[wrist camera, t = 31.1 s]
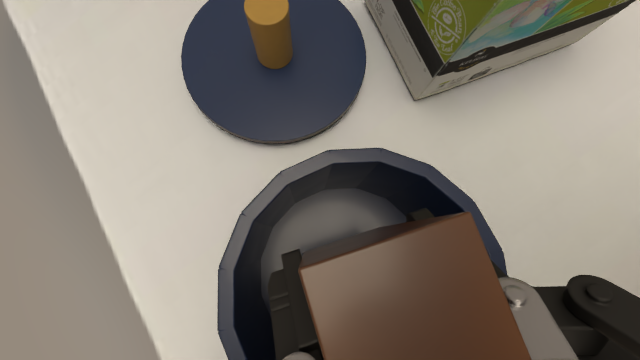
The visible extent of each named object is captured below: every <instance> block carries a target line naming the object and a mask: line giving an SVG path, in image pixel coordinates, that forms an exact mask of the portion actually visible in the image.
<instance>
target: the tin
mask: <svg viewBox="0 0 640 360" xmlns="http://www.w3.org/2000/svg"><path fill="white" fill-rule="evenodd" d="M423 208H427V209H428V210H429V211H430V212H431V213H432V214H433V215H434V217H439V216H445V215H451V214H457V213H462V212H470V213H471V214H472V217H473V219H474V221H475V224H476V226H477V229H478V231H479V234H480V236H481V238H482V241H483V243H484V246H485V248H486V250H487V253H488V255H489V258H490V259H491V260H492V261H493V262H494V263H495V264H496V265H497V266H498V267H499V268H500V269H501V270H502V271H503V272H504V273H505V274H506V275H507V271H506V265H505V259H504V253H503V251H502V248H501V247H500V245H499V243H498V241H497V240H496V238H495V236H494V235H493V233H492V231H491V229H490V228H489V226H488V224H487V222H486V221H485V219H484V217H483V216H482V214H481V212H480V210H479V209H478V207H477V205H476V203H475V202H474V201H473V200H472V199H471V198H470V197H469V196H468V195H467V194H465V193H464V192H463V191H462V190H461V189H459V188H458V187H457V186H456V185H455V184H453V183H452V182H451V181H450V180H449V179H447V178H446V177H445V176H444V175H443V174H441V173H440V172H439V171H438V170H437V169H435V168H434V167H433V166H431V165H429V164H426V163H423V162H421V161H418V160H415V159H412V158H409V157H406V156H403V155H400V154H397V153H394V152H392V151H389V150H386V149H383V148H364V149H340V150H329V151H328V150H327V151H325V152H323V153H320V154H318V155H316V156H314V157H311V158H309V159H307V160H305V161H303V162H300V163H298V164H296V165H294V166H292V167H289V168H287V169H285V170H283V171H281V172H280V173H278V174H277V175H276V176H275V177H274V178H273V179H272V180H271V182H270V183H269V184H268V185H267V186H266V187H265V188H264V189H263V190H262V191H261V192H260V193H259V194H258V195H257V196H256V197H255V198H254V199H253V200H252V201H251V202H250V204H249V205H248V206H247V207H246V208H245V209H244V210H243V211H242V214H240V216H239V218H238V220H237V223H236V225H235V228H234V230H233V233H232V235H231V238H230V240H229V243H228V245H227V248H226V250H225V253H224V255H223V257H222V260H221V262H220V265H219V269H218V331H219V332H218V334H219V337H220V339H221V342H222V344H223V347H224V349H225V352H226V355H227V357H228V360H276V353H275V345H274V336H273V328H272V320H271V310H270V303H269V302H270V301H269V295H268V283H269V279H270V276H271V273H272V272H275V271H278V270H281V269H283V263H282V258H281V254H284V253H287V252H290V251H294V250H297V249H300V252H301V255H302V256H303V253H304V252H305V251H308V250H311V249H314V248H317V247H321V246H324V245H327V244H330V243H333V242H336V241H339V240H342V239H345V238H348V237H351V236H354V235H357V234H360V233H363V232H366V231H369V230H372V229H375V228H378V227H383V226H388V225H394V224H400V223H405V222H406V215H407V213H410V212H414V211H417V210H420V209H423Z"/></svg>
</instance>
